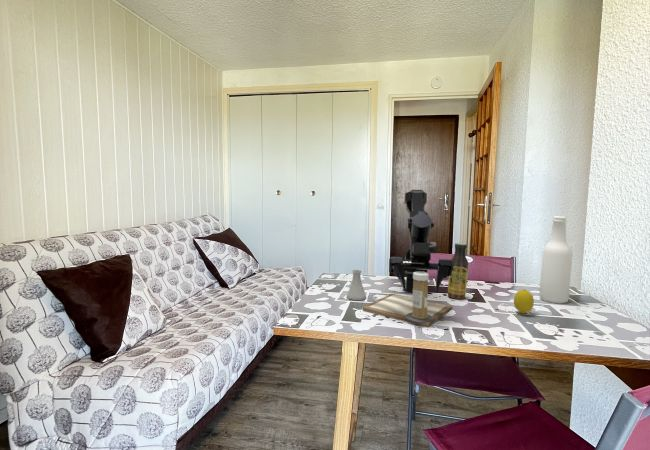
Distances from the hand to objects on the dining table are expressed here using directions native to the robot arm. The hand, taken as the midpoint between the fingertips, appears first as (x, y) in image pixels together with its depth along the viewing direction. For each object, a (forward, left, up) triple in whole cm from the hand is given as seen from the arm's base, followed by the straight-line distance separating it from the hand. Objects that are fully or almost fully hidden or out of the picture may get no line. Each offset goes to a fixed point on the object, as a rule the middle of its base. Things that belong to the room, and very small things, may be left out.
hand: (420, 290), depth 104 cm
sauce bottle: (-32, +1, -10) cm, 33 cm away
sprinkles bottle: (-1, -1, -8) cm, 9 cm away
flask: (-8, -27, -10) cm, 30 cm away
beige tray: (-8, -7, -9) cm, 14 cm away
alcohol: (-51, +28, -10) cm, 59 cm away
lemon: (-28, +23, -10) cm, 37 cm away
